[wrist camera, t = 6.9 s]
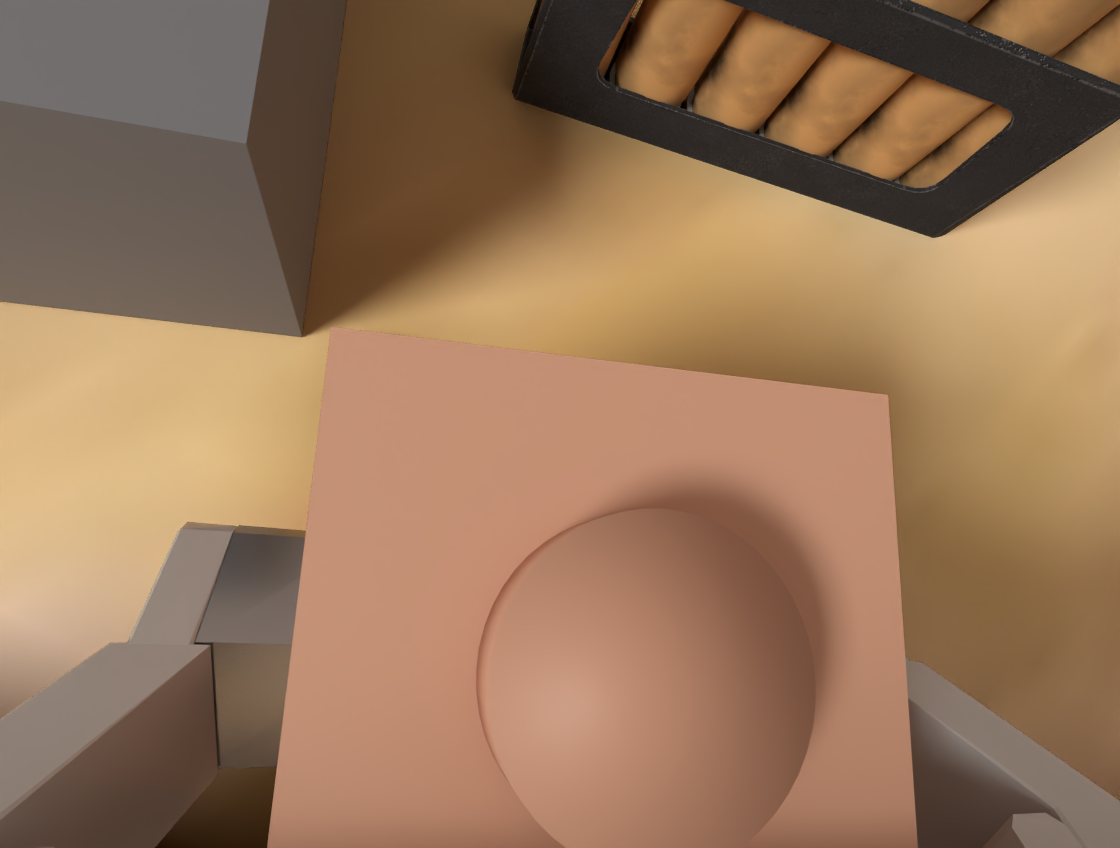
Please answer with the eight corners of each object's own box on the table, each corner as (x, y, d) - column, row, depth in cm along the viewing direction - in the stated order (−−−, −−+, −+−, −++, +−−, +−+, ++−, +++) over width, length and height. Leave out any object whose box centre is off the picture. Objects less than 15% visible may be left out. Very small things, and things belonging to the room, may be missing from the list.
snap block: (325, 762, 12) (214, 1174, 3) (356, 481, 13) (326, 294, 5) (597, 759, 13) (998, 1068, 5) (604, 500, 14) (939, 375, 6)
